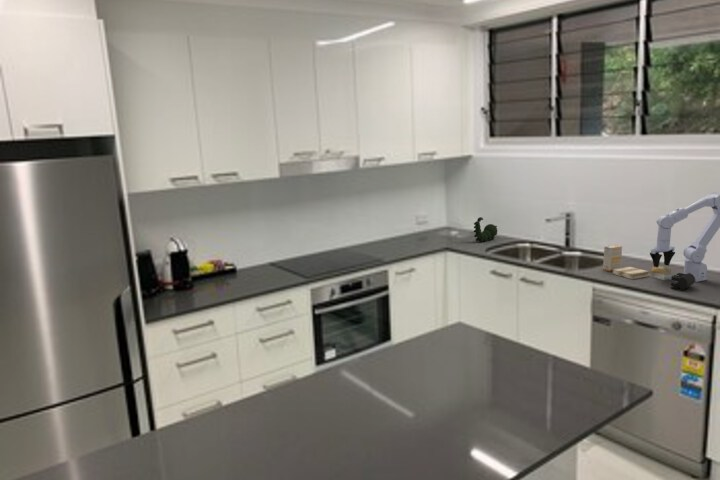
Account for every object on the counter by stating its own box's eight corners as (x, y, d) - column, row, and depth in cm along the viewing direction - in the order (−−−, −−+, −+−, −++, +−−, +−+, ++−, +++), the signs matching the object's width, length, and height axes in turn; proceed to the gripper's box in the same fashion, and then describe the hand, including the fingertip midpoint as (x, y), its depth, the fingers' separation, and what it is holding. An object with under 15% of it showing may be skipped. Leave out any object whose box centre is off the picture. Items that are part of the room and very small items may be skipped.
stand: (649, 276, 276) (649, 271, 275) (632, 279, 271) (632, 274, 270) (629, 271, 286) (629, 266, 286) (612, 273, 282) (613, 269, 281)
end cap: (686, 292, 248) (687, 278, 247) (670, 288, 253) (671, 275, 252) (694, 287, 254) (696, 274, 253) (678, 284, 260) (679, 271, 258)
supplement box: (613, 267, 294) (615, 244, 292) (621, 269, 290) (622, 246, 287) (602, 269, 292) (603, 245, 289) (609, 271, 287) (610, 247, 285)
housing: (670, 279, 269) (671, 268, 268) (664, 280, 268) (664, 269, 266) (657, 275, 276) (657, 265, 275) (650, 277, 274) (651, 266, 273)
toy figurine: (482, 246, 366) (502, 237, 382) (481, 219, 361) (501, 212, 377) (470, 244, 373) (491, 236, 389) (469, 218, 368) (490, 210, 384)
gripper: (666, 237, 274) (664, 262, 277) (646, 239, 269) (644, 265, 271) (679, 239, 268) (676, 265, 271) (659, 242, 262) (656, 268, 265)
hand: (661, 266), depth 271 cm, fingers open, 7 cm apart
